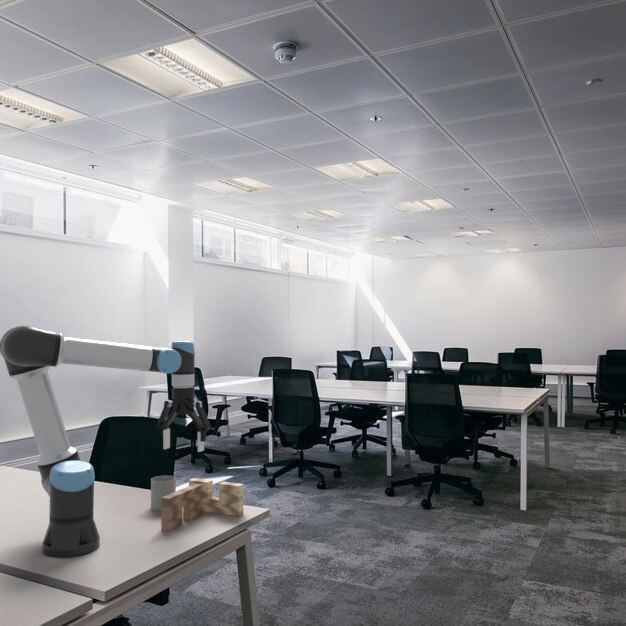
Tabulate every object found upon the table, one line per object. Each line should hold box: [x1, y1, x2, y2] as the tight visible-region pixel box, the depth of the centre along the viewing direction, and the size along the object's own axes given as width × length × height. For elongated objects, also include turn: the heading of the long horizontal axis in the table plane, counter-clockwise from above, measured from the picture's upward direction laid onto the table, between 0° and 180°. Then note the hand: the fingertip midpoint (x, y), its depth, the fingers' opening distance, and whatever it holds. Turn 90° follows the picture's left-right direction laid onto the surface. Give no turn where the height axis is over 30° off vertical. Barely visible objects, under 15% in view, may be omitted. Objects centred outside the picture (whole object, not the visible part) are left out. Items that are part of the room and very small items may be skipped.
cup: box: [150, 475, 177, 511], centre depth 207 cm, size 8×8×10 cm
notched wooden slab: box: [188, 477, 244, 517], centre depth 202 cm, size 20×3×10 cm, turn 66°
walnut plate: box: [160, 484, 204, 532], centre depth 191 cm, size 18×3×10 cm, turn 156°
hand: (183, 449), depth 199 cm, fingers open, 13 cm apart
